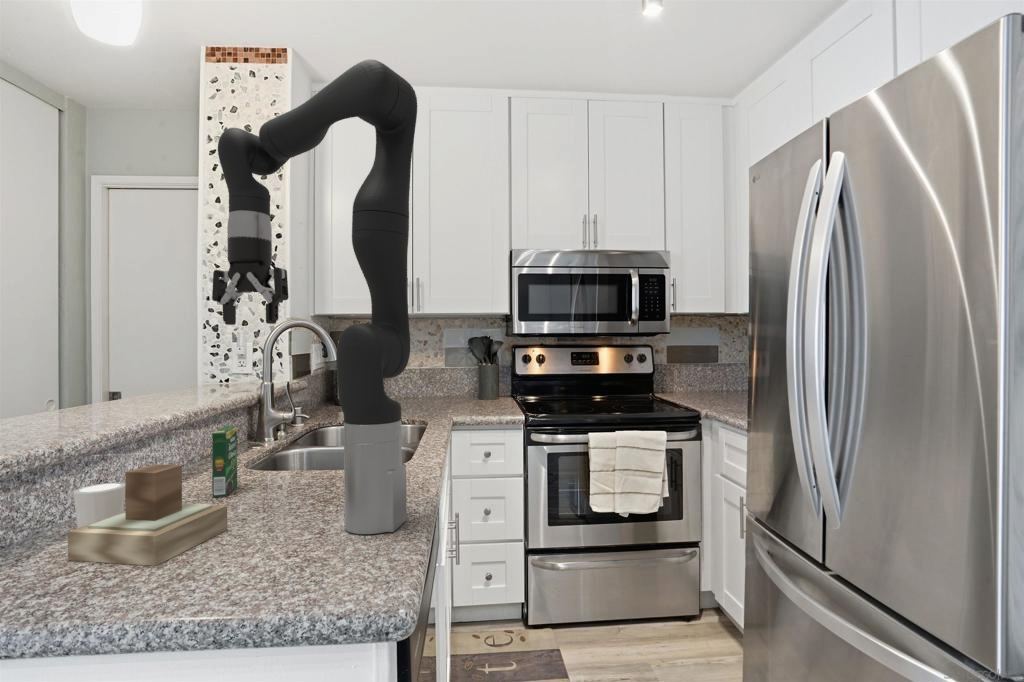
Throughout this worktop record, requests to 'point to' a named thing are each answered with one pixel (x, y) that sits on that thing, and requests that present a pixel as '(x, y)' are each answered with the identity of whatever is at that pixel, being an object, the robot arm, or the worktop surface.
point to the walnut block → (153, 492)
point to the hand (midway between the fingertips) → (250, 324)
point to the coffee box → (224, 461)
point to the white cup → (98, 502)
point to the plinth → (146, 536)
